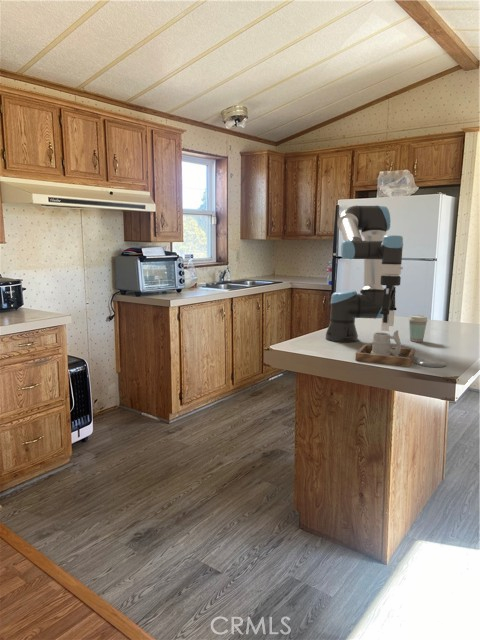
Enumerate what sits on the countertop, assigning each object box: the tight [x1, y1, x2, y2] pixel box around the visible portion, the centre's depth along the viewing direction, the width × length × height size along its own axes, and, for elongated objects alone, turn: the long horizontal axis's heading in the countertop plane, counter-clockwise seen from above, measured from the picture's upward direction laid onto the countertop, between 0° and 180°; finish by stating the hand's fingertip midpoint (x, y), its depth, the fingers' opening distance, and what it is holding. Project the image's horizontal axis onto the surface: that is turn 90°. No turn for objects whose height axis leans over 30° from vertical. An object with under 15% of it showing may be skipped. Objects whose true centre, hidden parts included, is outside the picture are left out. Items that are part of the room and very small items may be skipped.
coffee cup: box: [408, 314, 428, 343], centre depth 228 cm, size 9×8×12 cm
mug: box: [370, 330, 402, 357], centre depth 193 cm, size 8×12×12 cm, turn 58°
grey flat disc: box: [414, 358, 446, 368], centre depth 186 cm, size 11×11×1 cm
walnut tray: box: [355, 343, 416, 367], centre depth 194 cm, size 20×18×3 cm
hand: (387, 328), depth 192 cm, fingers open, 13 cm apart
